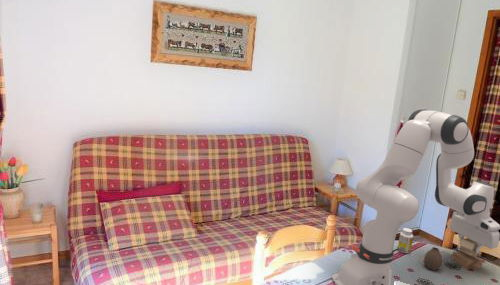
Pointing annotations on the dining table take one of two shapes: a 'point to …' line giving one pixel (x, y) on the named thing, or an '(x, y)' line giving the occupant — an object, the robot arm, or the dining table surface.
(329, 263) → the dining table surface
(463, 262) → the walnut block
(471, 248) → the maple cube
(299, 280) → the dining table surface
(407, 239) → the supplement bottle
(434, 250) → the vase
